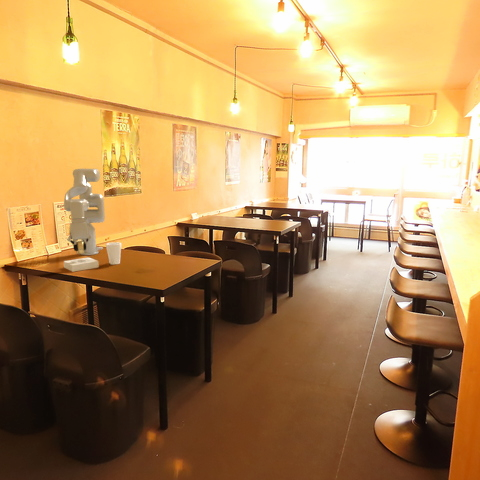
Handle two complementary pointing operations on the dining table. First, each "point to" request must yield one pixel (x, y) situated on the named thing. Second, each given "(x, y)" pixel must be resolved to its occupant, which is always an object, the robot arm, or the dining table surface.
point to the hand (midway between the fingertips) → (80, 250)
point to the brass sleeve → (80, 247)
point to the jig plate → (81, 264)
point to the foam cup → (114, 252)
